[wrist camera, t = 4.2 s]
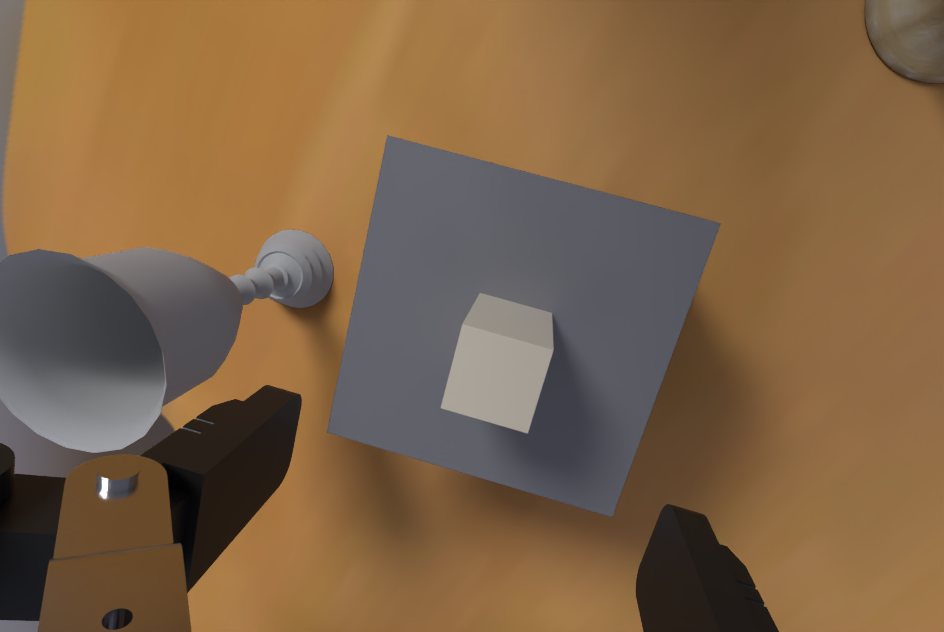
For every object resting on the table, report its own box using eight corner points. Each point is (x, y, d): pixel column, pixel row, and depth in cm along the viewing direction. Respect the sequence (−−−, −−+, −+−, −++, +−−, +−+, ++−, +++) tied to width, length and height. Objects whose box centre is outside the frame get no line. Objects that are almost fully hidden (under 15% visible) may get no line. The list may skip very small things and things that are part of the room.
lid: (401, 138, 24) (342, 124, 17) (704, 219, 23) (771, 237, 16) (343, 412, 28) (275, 492, 21) (606, 489, 27) (628, 600, 20)
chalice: (370, 280, 36) (208, 378, 19) (297, 344, 38) (86, 488, 20) (292, 189, 35) (46, 203, 18) (221, 258, 37) (-67, 333, 20)
